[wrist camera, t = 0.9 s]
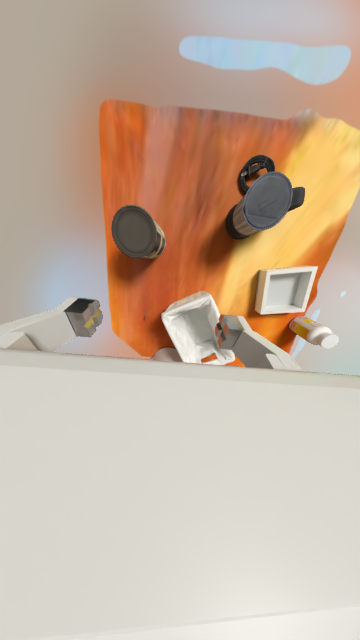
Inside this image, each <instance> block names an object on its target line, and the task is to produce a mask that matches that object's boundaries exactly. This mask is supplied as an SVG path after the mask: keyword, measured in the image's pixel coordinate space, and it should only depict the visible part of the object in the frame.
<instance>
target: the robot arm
mask: <svg viewBox="0 0 360 640" xmlns="http://www.w3.org/2000/svg"><path fill="white" fill-rule="evenodd" d="M99 307H100V303H99V301H98V300H93V299H86V298H78V297H69V298H68V299H67V300H65V301H64V302H63V303H61V304H60V305H59V306H58V307H56V308H55V309H54V310H52V311H51V310H49V311H46V312H42V313H39V314H35V315H32V316H29V317H26V318H22V319H19V320H15V321H12V322H9V323H6V324H2V325H0V640H360V376H356V375H343V374H330V373H317V372H303V371H302V369H301V368H300V367H299V366H298V364H297V363H296V362H295V360H294V359H293V358H292V357H291V355H289V354H288V353H286V352H285V351H283V350H282V349H280V348H279V347H277V346H276V345H274V344H273V343H271V342H270V341H268V340H267V339H265V338H264V337H262V336H261V335H259V334H258V333H256V332H253V331H252V329H251V328H250V326H249V325H248V323H247V322H246V320H245V318H244V317H242V316H232V315H222V314H221V315H220V317H219V323H217V324H216V327H215V335H216V337H217V338H218V341H217V342H218V345H219V348H220V349H227V350H231V351H232V352H233V353H234V354H235V355H236V356H237V357H238V358H239V359H240V360H241V362H242V363H243V364H244V365H245V366H246V367H239V366H226V365H213V364H200V363H187V362H183V361H182V359H181V357H180V355H179V353H178V351H177V350H176V349H174V348H162V349H160V350H158V351H157V352H156V353H155V355H154V356H153V357H152V358H151V359H149V360H148V359H135V358H122V357H108V356H96V355H83V354H69V353H57V352H52V351H54V350H56V349H57V348H59V347H61V346H62V345H64V344H65V343H67V342H69V341H70V340H72V339H74V338H75V337H76V336H81V337H91V336H92V335H93V334H94V332H95V331H96V327H97V326H99V325H100V324H101V322H102V319H103V316H102V311H100V310H99Z"/></svg>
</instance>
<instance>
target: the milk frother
mask: <svg viewBox="0 0 360 640" xmlns="http://www.w3.org/2000/svg"><path fill="white" fill-rule="evenodd" d="M255 163H258V164H257V165H254V166H252V167H250V166H251V165H253V164H255ZM259 163H260V164H259ZM263 168H267V171H268V173H266V174H264V175H262V176H261V177H259V178H258V179H257V180H255V181H254V183H253V184H252V185H251V186H250V187H248V186H247V185H246V183H245V176H246V175H249V178H250V176H251V175H253V174H254V173H256V172H259V170H260V169H263ZM240 183H241V187H242V190H243V191H244V192H245V193H246V195H245V196H244V197H243V198H242V199H241V200H240V202H239V203H238V204H236V205H235V206H234V207H233V208H232V209H231V210H230V212H229V214H228V216H227V219H226V229H227V232H228V234H229V235H230V236H231V237H232V238H234V239H244V238H246V237H248V236H250V235H251V234H253V233H256V232H258V231H260V230H267V229H269V228H271V227H273V226H275V225H276V224H278V223H279V222H280V221H281V220H282V219H283V218H284V216H285V215H286V213H287V212H288V211H291V210H293V209H295V208H298V207H300V206H301V205H302V204H303V202H304V197H305V188H303V187H296V188H292V185H291V182H290V180H289V179H288V178H287V177H286V176H285V175H284V174H282V173H280V172H275V165H274V162H273V161H272V160H271V159H270V158H269V157H268V156H264V155H257V156H255V157H253V158H251V159H250V160H249V161H248V162H247V163H246V164H245V166H244V167H243V169H242V172H241V177H240Z"/></svg>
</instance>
